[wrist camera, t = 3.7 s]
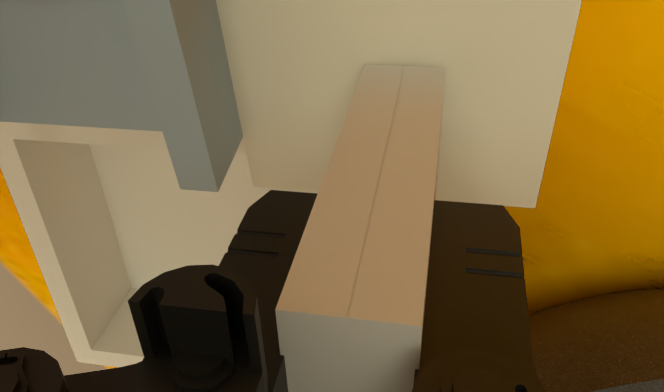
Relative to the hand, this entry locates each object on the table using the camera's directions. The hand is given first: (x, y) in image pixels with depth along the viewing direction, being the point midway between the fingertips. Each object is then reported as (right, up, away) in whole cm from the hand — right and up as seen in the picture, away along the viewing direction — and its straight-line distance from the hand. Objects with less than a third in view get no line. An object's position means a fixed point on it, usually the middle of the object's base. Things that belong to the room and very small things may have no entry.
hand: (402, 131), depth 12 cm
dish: (-5, -1, +11) cm, 12 cm away
